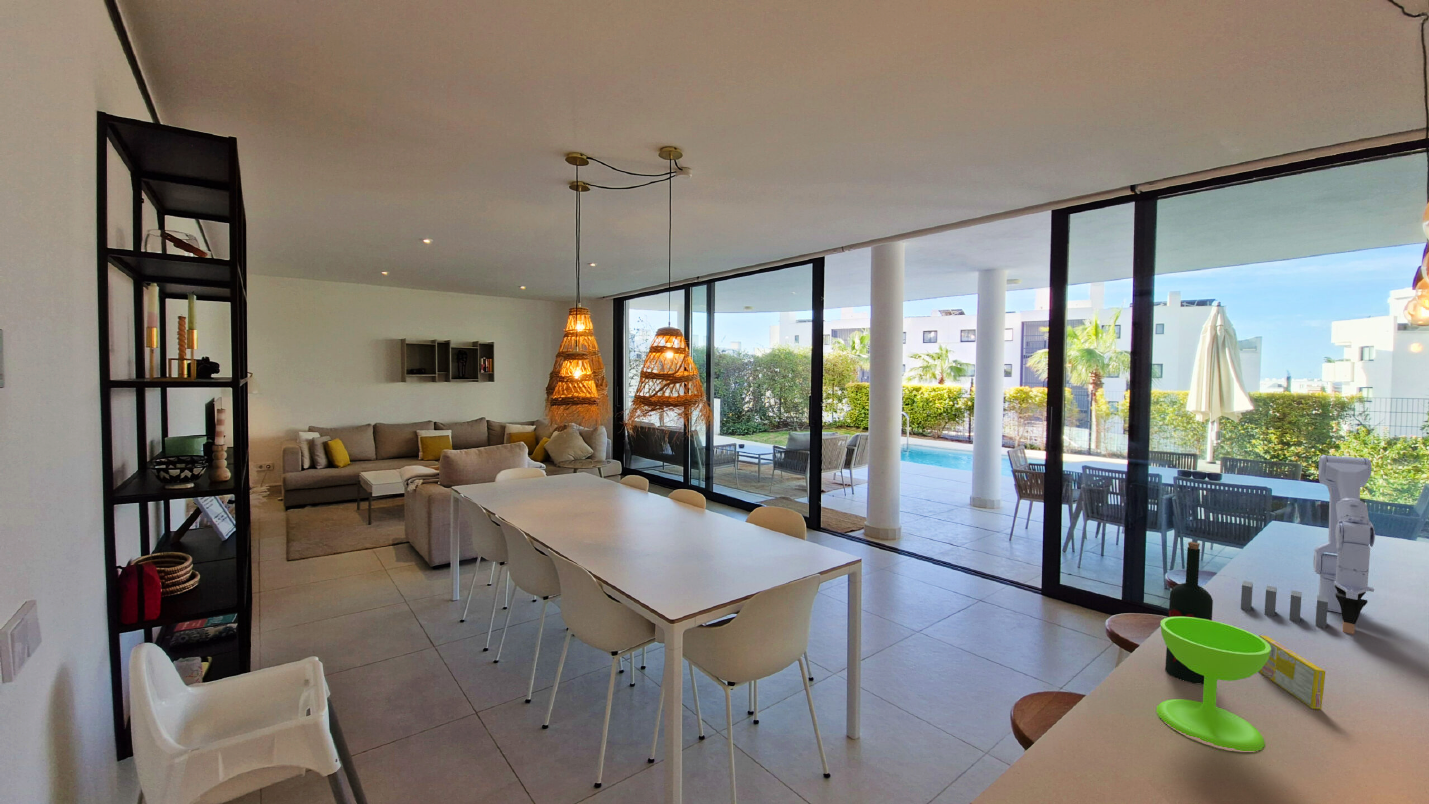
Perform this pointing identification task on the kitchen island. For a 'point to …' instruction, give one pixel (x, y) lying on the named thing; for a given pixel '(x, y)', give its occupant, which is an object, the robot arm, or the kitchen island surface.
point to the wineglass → (1213, 678)
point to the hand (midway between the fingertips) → (1348, 618)
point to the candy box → (1294, 674)
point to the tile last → (1246, 595)
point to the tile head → (1348, 627)
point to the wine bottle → (1188, 610)
